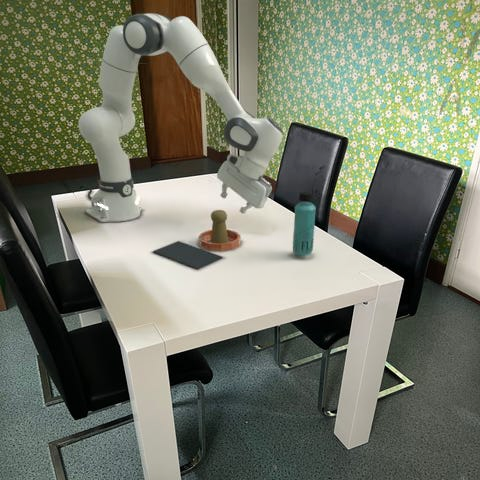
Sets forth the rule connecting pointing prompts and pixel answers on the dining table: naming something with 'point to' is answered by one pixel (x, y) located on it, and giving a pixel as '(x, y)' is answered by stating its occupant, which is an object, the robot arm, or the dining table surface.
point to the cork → (219, 227)
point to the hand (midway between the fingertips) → (232, 204)
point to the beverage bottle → (304, 225)
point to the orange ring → (205, 244)
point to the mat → (188, 255)
